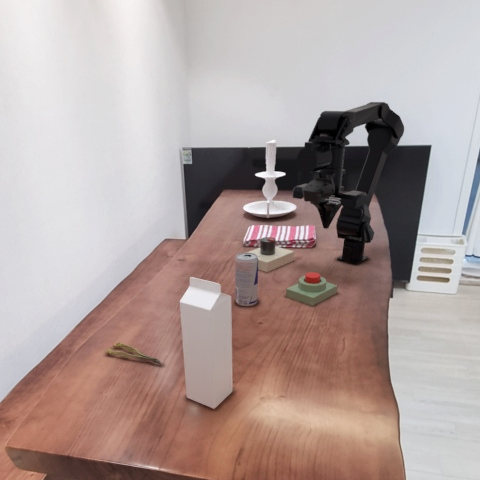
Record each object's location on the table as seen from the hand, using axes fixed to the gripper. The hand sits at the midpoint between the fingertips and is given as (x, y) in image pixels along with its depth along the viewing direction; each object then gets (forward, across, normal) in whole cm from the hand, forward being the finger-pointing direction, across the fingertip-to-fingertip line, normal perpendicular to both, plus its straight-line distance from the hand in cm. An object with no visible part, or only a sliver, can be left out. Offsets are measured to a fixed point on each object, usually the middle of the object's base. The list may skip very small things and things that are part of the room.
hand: (325, 228), depth 122 cm
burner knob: (+10, -17, -3) cm, 20 cm away
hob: (+13, -17, -3) cm, 22 cm away
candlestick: (+13, -49, +35) cm, 62 cm away
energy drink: (+13, -3, -27) cm, 30 cm away
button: (+9, +6, -13) cm, 17 cm away
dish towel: (+13, -28, +16) cm, 35 cm away
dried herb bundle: (+13, -2, -61) cm, 62 cm away
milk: (+13, +18, -59) cm, 63 cm away
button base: (+13, +6, -13) cm, 19 cm away
